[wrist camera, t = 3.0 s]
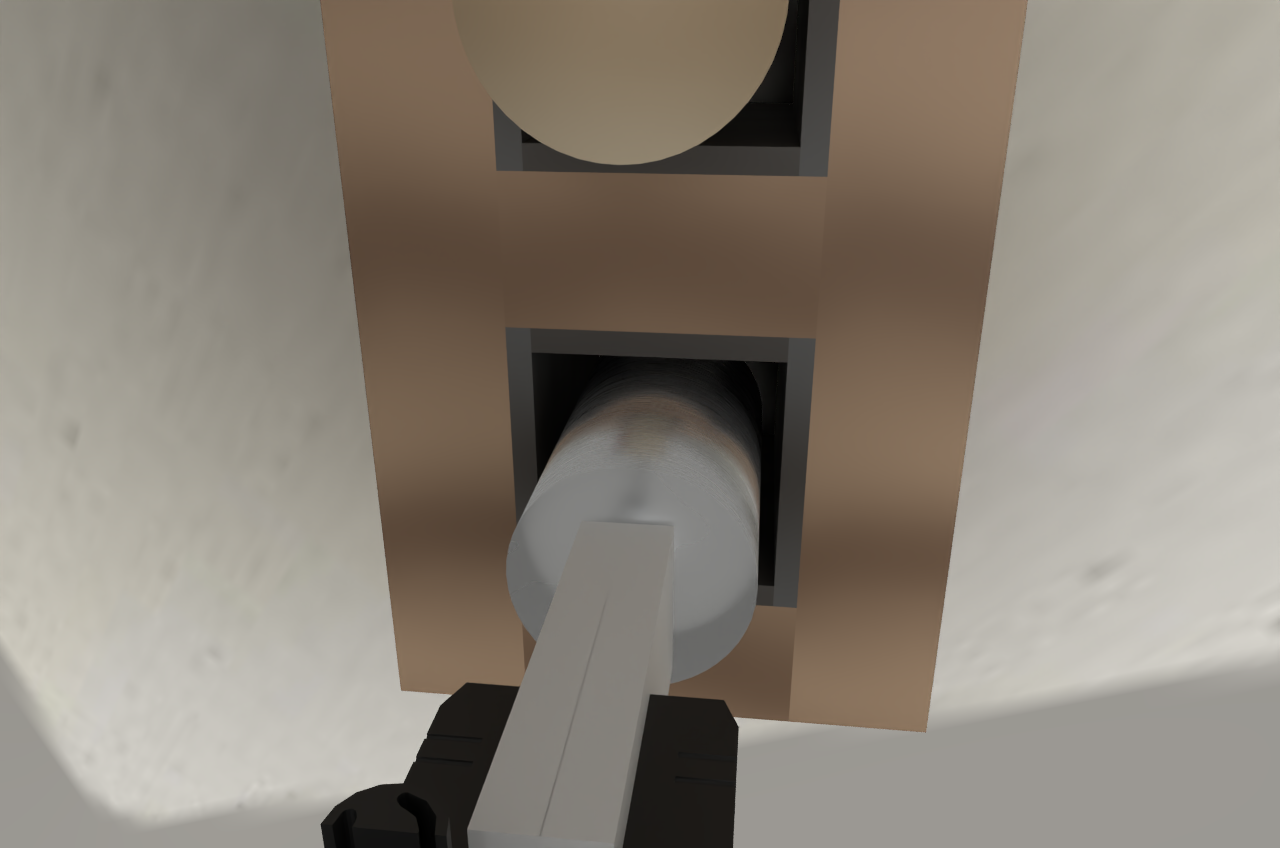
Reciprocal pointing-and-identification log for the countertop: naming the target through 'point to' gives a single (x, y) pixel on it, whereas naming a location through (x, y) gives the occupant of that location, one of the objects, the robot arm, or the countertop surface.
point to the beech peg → (620, 69)
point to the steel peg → (656, 493)
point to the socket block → (685, 328)
